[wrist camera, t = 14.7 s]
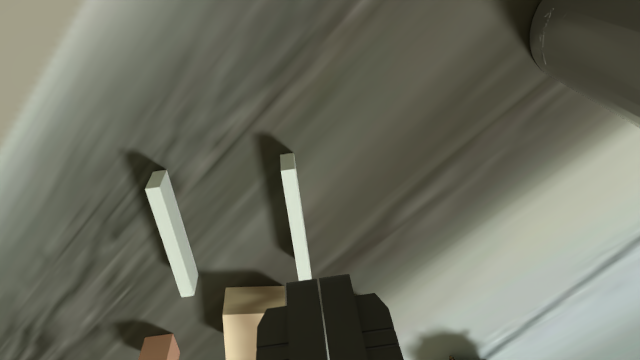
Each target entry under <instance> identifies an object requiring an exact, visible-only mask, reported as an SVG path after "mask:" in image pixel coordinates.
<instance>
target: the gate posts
mask: <svg viewBox="0 0 640 360" xmlns="http://www.w3.org/2000/svg"><path fill="white" fill-rule="evenodd" d="M179 355H180V351H179V349H178V346H177V343H176V340H175V338H174V335H173V334H166V335H159V336H152V337H145V339H144V343H143V346H142V349H141V353H140V356H139V359H138V360H178V359H179Z"/></svg>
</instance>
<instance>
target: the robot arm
mask: <svg viewBox="0 0 640 360" xmlns="http://www.w3.org/2000/svg"><path fill="white" fill-rule="evenodd" d="M530 48H531V52H532V56H533V58H534V60H535V62H536V64H537V65H538V66H539V67H540V69H541V70H542V71H543V72H545V73H546V74H548V75H549V76H551V77H553V78H554V79H556V80H558V81H560V82H561V83H563V84H565V85H566V86H568V87H570V88H571V89H573V90H575V91H576V92H578V93H580V94H582V95H583V96H585V97H587V98H589V99H590V100H592V101H594V102H595V103H597V104H599V105H601V106H602V107H604V108H606V109H608V110H609V111H611V112H613V113H615V114H616V115H618V116H620V117H622V118H623V119H625V120H627V121H628V122H630V123H632V124H634V125H635V126H637V127H639V128H640V0H542V1H541V3H540V4H539V6H538V8H537V10H536V12H535V15H534V17H533V20H532V25H531V29H530ZM319 280H320V288H321V296H322V303H323V311H324V319H325V326H326V334H327V342H328V349H329V357H330V360H404V359H403V356H402V353H401V349H400V347H399V342H398V339H397V336H396V332H395V331H394V326H393V322H392V319H391V316H390V312H389V309H388V307H387V306H386V305H385V304H384V303H383V302H382V301H381V300H380V298H379V297H378V296H377V295H376V294H375V293H372V294H365V295H358V296H354V293H353V289H352V284H351V280H350V275H349V274H345V275H338V276H331V277H324V278H319ZM286 290H287V306H281V307H274V308H267V309H266V311H265V313H264V315H263V317H262V318H261V320H260V322H259V324H258V326H257V343H256V348H257V351H256V360H328V358H327V350H326V343H325V335H324V328H323V320H322V313H321V306H320V299H319V292H318V285H317V279H311V280H304V281H297V282H290V283H287V284H286Z"/></svg>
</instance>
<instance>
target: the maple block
mask: <svg viewBox="0 0 640 360" xmlns="http://www.w3.org/2000/svg"><path fill="white" fill-rule="evenodd" d="M281 306H285V289H284V286H263V287H226V290H225V298H224V307H223V327H224V340H225V353H226V360H256V351H257V348H256V343H257V326H258V324H259V322H260V320H261V318H262V317H263V315H264V313H265V311H266V309H267V308H274V307H281Z"/></svg>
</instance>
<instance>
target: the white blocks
mask: <svg viewBox="0 0 640 360" xmlns="http://www.w3.org/2000/svg"><path fill="white" fill-rule="evenodd" d="M280 164H281V175H282V181H283V187H284V193H285V199H286V205H287V211H288V217H289V224H290V230H291V236H292V242H293V248H294V254H295V260H296V266H297V272H298V278H299V281H301V280H308V279H311V270H310V260H309V253H308V247H307V240H306V233H305V226H304V219H303V213H302V206H301V199H300V192H299V185H298V179H297V172H296V165H295V158H294V153H289V154H282V155H280ZM145 191H146V194H147V197H148V200H149V203H150V206H151V208H152V211H153V214H154V217H155V220H156V223H157V226H158V229H159V232H160V235H161V238H162V241H163V244H164V247H165V250H166V253H167V256H168V259H169V262H170V265H171V268H172V271H173V274H174V277H175V280H176V283H177V286H178V288H179V291H180V294H181V297H188V296H194V294H195V289H196V284H197V279H198V271H197V268H196V265H195V261H194V258H193V255H192V252H191V248H190V245H189V242H188V238H187V235H186V232H185V229H184V225H183V222H182V219H181V215H180V212H179V209H178V205H177V202H176V199H175V196H174V192H173V189H172V186H171V182H170V179H169V176H168V172H167V170H162V171H155V172H153V173H152V175H151V177H150V179H149V181H148V183H147V186H146V188H145Z"/></svg>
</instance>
